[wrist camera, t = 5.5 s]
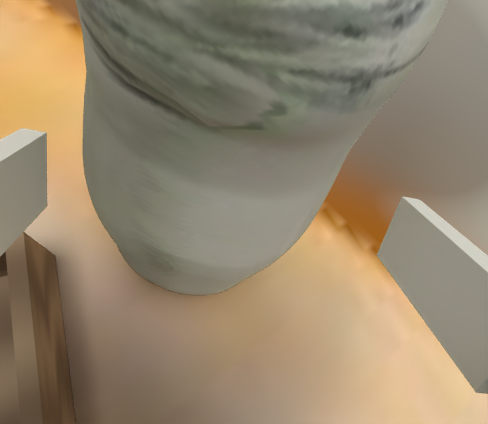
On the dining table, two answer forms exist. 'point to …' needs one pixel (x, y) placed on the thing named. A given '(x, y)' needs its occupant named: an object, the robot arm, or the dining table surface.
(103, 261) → the dining table surface
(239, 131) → the grey vase
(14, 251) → the walnut crate
